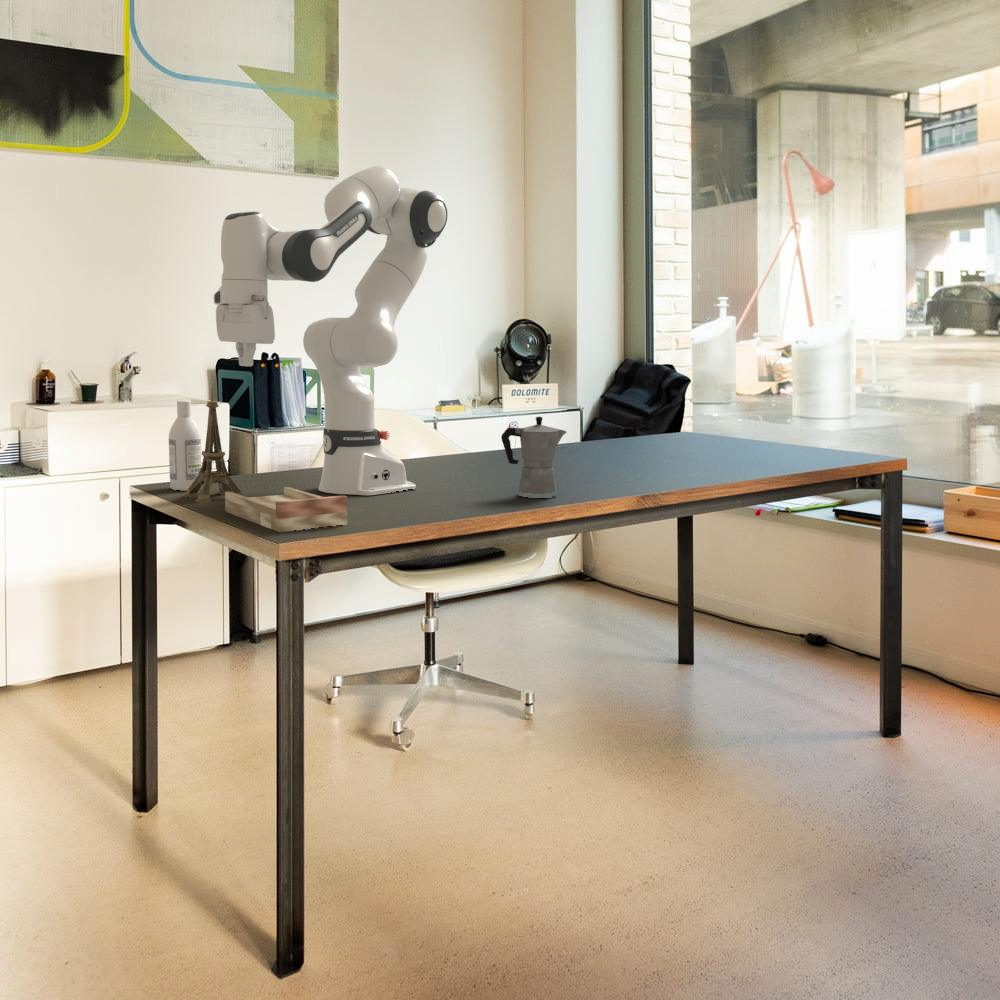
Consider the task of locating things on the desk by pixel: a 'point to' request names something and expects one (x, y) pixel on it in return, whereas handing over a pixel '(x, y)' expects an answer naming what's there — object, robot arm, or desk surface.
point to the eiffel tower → (209, 455)
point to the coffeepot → (535, 456)
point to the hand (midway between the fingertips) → (246, 366)
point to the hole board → (289, 510)
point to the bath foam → (184, 449)
